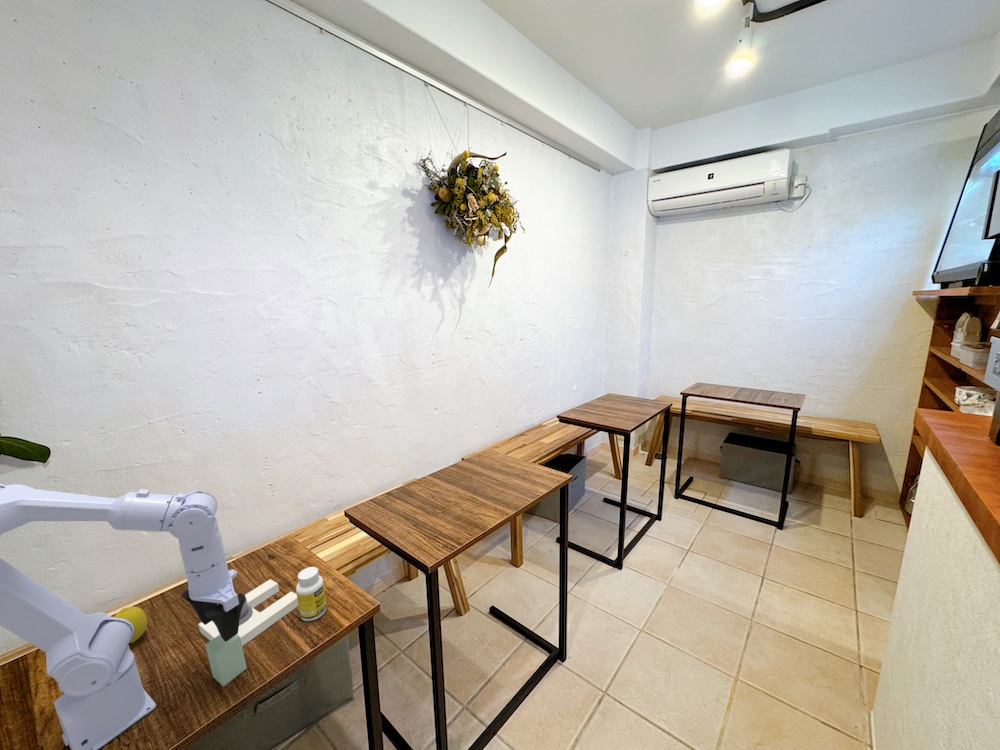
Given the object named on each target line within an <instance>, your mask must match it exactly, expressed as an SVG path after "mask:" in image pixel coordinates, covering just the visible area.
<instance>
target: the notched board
mask: <svg viewBox="0 0 1000 750" xmlns="http://www.w3.org/2000/svg"><path fill="white" fill-rule="evenodd" d="M278 592H280V586H279V584H278V582H276V581H274V580H273V579H272V578H270V579H267V581H265V582H264V583H262V584H260V585H259V586H257V587H256V588H254V589H252V590H250V591H249V592H247V593H245V594H244V595H245V597H246V601H245V603H244V605H243V607H242V610H241V613H240V619H239V629H238V634H237V635H239V636H240V639H241V643H242V647H244V646H245V645H247V644H248V643H249V642H250V641H252V640H253V639H255V638H256V637H257V636H259V635H260V634H261V633H263V632H265V630H267V629H268V628H269V627H271V626H273V625H274V624H275V623H277V622H278V621H279V620H281V619H282V618H284V617H285V616H286V615H288V614H289V613H290V612H292V611H293V610H295V609H296V608H297V607H299V605H298V599H297V594H296V592H293V591H290V592H288V593H287V594H285V595H284V596H282V597H281V598H279V599H278V600H276V601H275V602H274V603H272V604H270V605H268V607H266V608H264V609H263V610H262V611H258V610H257V609H255V608H257V606H258V605H259V606H260V604H262V603H264V601H265V602H266V600H268V599H270V598H271V597H272V596H273V595H275V594H276V593H278ZM197 625H198V629H199V632H200V634H201V635H202V636H204V637H205V638H206V639H207V640H208V641H211V640H212V639H214V638H215V637H217V636H218V635H220V634H219V631H218V629H217V627H216V625H215V624H214V622H213V621H211V622H209V623H208V624H206V625H204V624H203V623H202V621H200V622H199V623H198V624H197Z"/></svg>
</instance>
